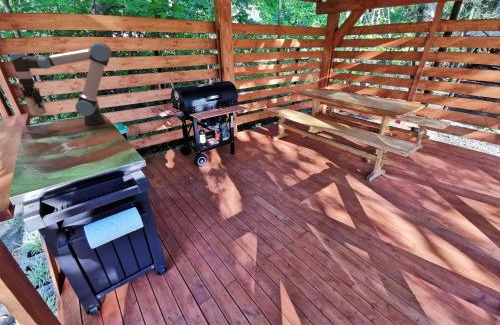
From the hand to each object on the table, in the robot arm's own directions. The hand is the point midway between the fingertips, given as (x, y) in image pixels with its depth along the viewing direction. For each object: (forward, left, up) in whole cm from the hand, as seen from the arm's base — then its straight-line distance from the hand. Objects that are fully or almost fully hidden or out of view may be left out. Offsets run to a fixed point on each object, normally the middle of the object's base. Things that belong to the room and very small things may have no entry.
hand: (38, 112), depth 170 cm
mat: (0, -4, -15) cm, 16 cm away
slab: (0, 0, -1) cm, 1 cm away
